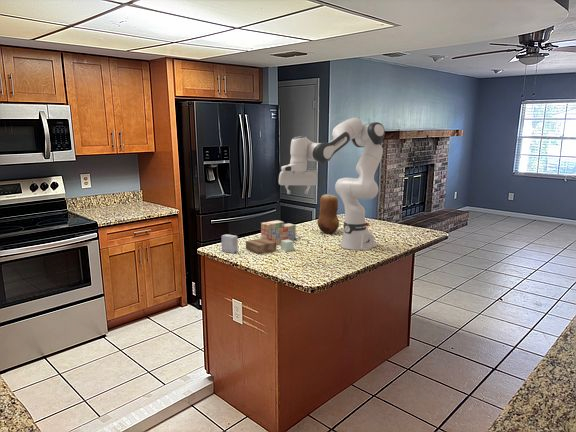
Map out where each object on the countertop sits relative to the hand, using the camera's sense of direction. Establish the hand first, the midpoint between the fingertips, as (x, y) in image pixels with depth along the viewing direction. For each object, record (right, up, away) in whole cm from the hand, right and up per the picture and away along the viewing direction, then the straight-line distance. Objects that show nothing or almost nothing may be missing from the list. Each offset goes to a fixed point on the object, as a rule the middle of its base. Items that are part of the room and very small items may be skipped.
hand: (297, 193), depth 222 cm
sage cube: (-5, -30, +10) cm, 33 cm away
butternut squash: (+21, -23, +50) cm, 59 cm away
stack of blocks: (-11, -27, +28) cm, 40 cm away
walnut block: (-20, -31, +9) cm, 38 cm away
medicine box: (-37, -31, +6) cm, 48 cm away
